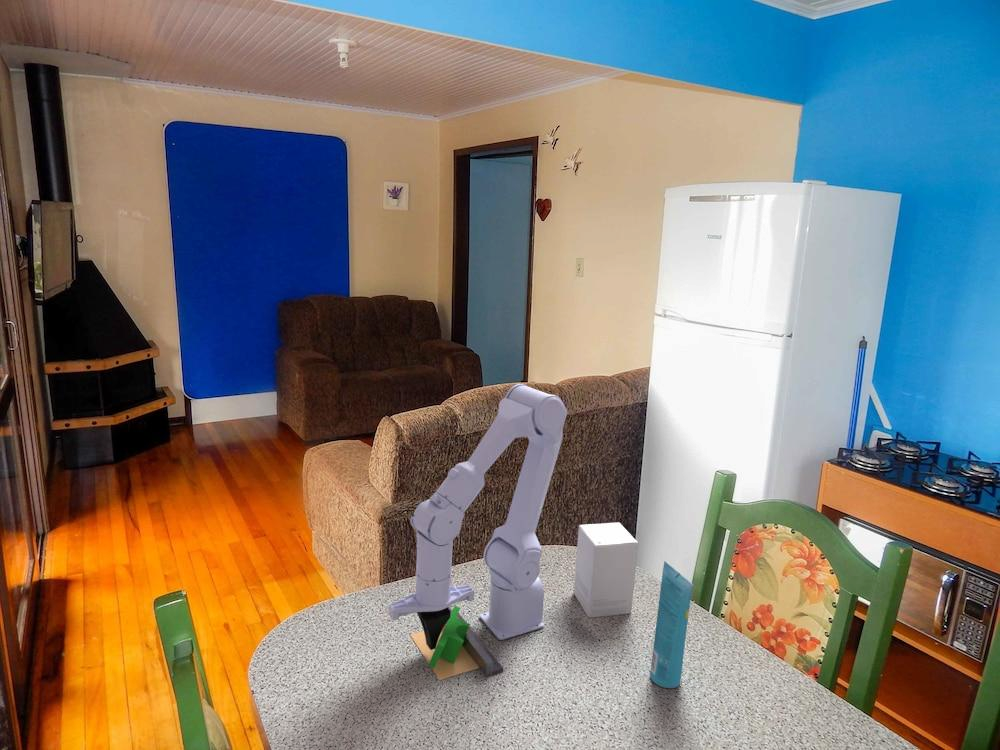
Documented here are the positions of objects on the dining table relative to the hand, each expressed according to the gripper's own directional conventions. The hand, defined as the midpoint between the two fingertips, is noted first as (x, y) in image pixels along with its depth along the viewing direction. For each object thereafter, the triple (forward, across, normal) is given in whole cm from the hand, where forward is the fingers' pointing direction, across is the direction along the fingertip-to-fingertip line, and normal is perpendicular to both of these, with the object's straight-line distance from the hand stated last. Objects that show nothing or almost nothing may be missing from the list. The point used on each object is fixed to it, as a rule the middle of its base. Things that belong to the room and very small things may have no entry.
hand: (430, 646), depth 109 cm
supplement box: (+1, -36, 0) cm, 36 cm away
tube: (+1, -32, +22) cm, 39 cm away
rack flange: (+2, -4, 0) cm, 4 cm away
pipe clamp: (+1, -2, +1) cm, 3 cm away
